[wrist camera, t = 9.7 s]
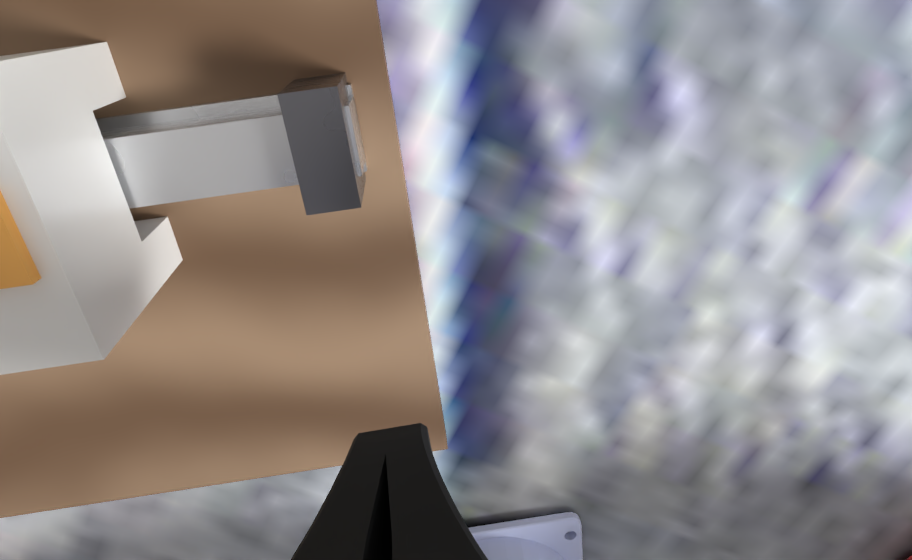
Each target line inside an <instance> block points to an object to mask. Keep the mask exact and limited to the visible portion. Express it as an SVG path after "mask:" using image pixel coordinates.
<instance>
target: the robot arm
mask: <svg viewBox="0 0 912 560" xmlns="http://www.w3.org/2000/svg"><path fill="white" fill-rule="evenodd" d="M569 531H571V532H569ZM567 532H569V533H567ZM291 560H583V550H582V524H581V521H580V518H579V516H578V515H577V514H576V513H573V512H564V513H558V514H552V515H545V516H539V517H533V518H526V519H520V520H514V521H507V522H501V523H495V524H489V525H482V526H476V527H470V528H468V527H467V525H466V524H465V522H464V520H463V519H462V517H461V515H460V513H459V511H458V509H457V508H456V506H455V504H454V502H453V500H452V498H451V496H450V494H449V492H448V490H447V488H446V486H445V484H444V482H443V479H442V477H441V475H440V473H439V470H438V468H437V465H436V462H435V460H434V457H433V453H432V448H431V443H430V438H429V433H428V428H427V426H425V425H423V424H422V423H417V424H411V425H405V426H399V427H393V428H387V429H381V430H375V431H369V432H363V433H358V434H357V436H356V437H355V438H354V440H353V442H352V445H351V447H350V449H349V452H348V454H347V456H346V459H345V461H344V463H343V465H342V467H341V469H340V472H339V474H338V476H337V478H336V480H335V482H334V484H333V486H332V488H331V490H330V492H329V494H328V496H327V497H326V499H325V501H324V503H323V505H322V507H321V509H320V511H319V513H318V514H317V516H316V518H315V520H314V522H313V524H312V525H311V527H310V529H309V530H308V532H307V534H306V535H305V537H304V539H303V540H302V542H301V544H300V545H299V547H298V549H297V550H296V552H295V554H294V555H293V557H292V559H291Z"/></svg>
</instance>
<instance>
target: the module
mask: <svg viewBox="0 0 912 560" xmlns="http://www.w3.org/2000/svg"><path fill="white" fill-rule="evenodd" d="M124 98H126V95H125V92H124V90H123V87H122V84H121V81H120V78H119V75H118V72H117V69H116V67H115V64H114V61H113V58H112V55H111V52H110V49H109V46H108V44H107V42H102V43H94V44H87V45H79V46H72V47H64V48H56V49H49V50H41V51H34V52H26V53H19V54H11V55H4V56H0V375H3V374H10V373H17V372H23V371H30V370H37V369H44V368H51V367H57V366H64V365H71V364H78V363H84V362H91V361H98V360H104V359H105V358H106V356H107V355H108V354H109V353H110V351H111V350H112V349H113V348H114V346H115V345H116V344H117V342H118V341H119V340H120V339H121V337H122V336H123V335H124V334H125V332H126V331H127V330H128V329H129V327H130V326H131V325H132V323H133V322H134V321H135V320H136V318H137V317H138V316H139V315H140V313H141V312H142V311H143V310H144V308H145V307H146V306H147V305H148V303H149V302H150V301H151V299H152V298H153V297H154V296H155V294H156V293H157V292H158V291H159V289H160V288H161V287H162V286H163V284H164V283H165V282H166V281H167V279H168V278H169V277H170V275H171V274H172V273H173V272H174V270H175V269H176V268H177V267H178V265H179V264H180V263H181V262H182V260H183V259H182V256H181V253H180V250H179V248H178V245H177V242H176V239H175V236H174V233H173V230H172V227H171V225H170V222H169V219H168V217H161V218H153V219H146V220H139V221H134V220H133V217H132V214H131V212H130V209H129V206H128V204H127V201H126V199H125V196H124V193H123V191H122V188H121V185H120V183H119V180H118V177H117V175H116V172H115V169H114V167H113V164H112V161H111V159H110V156H109V153H108V151H107V148H106V145H105V143H104V140H103V137H102V135H101V132H100V129H99V127H98V124H97V121H96V119H95V116H94V113H93V110H96V109H98V108H101V107H104V106H106V105H109V104H111V103H114V102H116V101H119V100H121V99H124Z"/></svg>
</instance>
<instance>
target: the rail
mask: <svg viewBox="0 0 912 560" xmlns="http://www.w3.org/2000/svg"><path fill="white" fill-rule="evenodd" d="M95 119H96V121H97V124H98V127H99V129H100V132H101V135H102V137H103V140H104V143H105V145H106V148H107V151H108V153H109V156H110V159H111V161H112V164H113V167H114V169H115V172H116V175H117V177H118V180H119V183H120V185H121V188H122V191H123V193H124V196H125V199H126V201H127V204H128V206H129V209H130V208H137V207H144V206H151V205H158V204H165V203H173V202H180V201H187V200H194V199H201V198H208V197H215V196H222V195H229V194H236V193H243V192H250V191H258V190H265V189H272V188H279V187H286V186H293V185H299V187H300V191H301V195H302V199H303V203H304V207H305V212H306V216H307V215H314V214H321V213H328V212H335V211H342V210H349V209H356V208H361V206H362V200H363V194H364V188H365V182H366V177H365V172H366V171H367V164H366V158H365V153H364V148H363V142H362V137H361V132H360V126H359V121H358V116H357V110H356V105H355V100H354V94H353V89H352V84H351V83H350V84H348V82H347V77H346V72H345V73H337V74H330V75H323V76H315V77H308V78H301V79H294V80H293V81H292V82H291V83H289V84H288V85H287V86H286V87H285V88H284V89H283V90H282V91H280V92H279V93H277V94H270V95H262V96H255V97H248V98H240V99H233V100H226V101H219V102H211V103H204V104H197V105H189V106H182V107H175V108H167V109H160V110H153V111H145V112H138V113H131V114H124V115H116V116H109V117H102V118H95Z"/></svg>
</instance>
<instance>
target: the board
mask: <svg viewBox="0 0 912 560" xmlns="http://www.w3.org/2000/svg"><path fill="white" fill-rule="evenodd" d="M102 42H107V44H108V46H109V49H110V52H111V55H112V58H113V61H114V64H115V67H116V69H117V72H118V75H119V78H120V81H121V84H122V87H123V90H124V92H125V95H126V98H124V99H121V100H119V101H116V102H114V103H111V104H109V105H106V106H104V107H101V108H98V109H96V110H93V113H94V116H95V118H102V117H109V116H116V115H124V114H131V113H138V112H145V111H153V110H160V109H167V108H175V107H182V106H189V105H197V104H204V103H211V102H219V101H226V100H233V99H240V98H248V97H255V96H262V95H270V94H277V93H279V92H280V91H282V90H283V89H284V88H285V87H286V86H287V85H288V84H289V83H291V82H292V81H293V80H294V79H301V78H308V77H315V76H323V75H330V74H337V73H345V72H346V77H347V82H348V84H350V83H351V84H352V89H353V94H354V100H355V105H356V110H357V116H358V121H359V126H360V132H361V137H362V142H363V148H364V153H365V158H366V164H367V171H366V172H365V177H366V182H365V188H364V194H363V200H362V206H361V208H356V209H349V210H342V211H335V212H328V213H321V214H314V215H307V216H306V212H305V207H304V203H303V199H302V195H301V191H300V187H299V185H293V186H286V187H279V188H272V189H265V190H258V191H250V192H243V193H236V194H229V195H222V196H215V197H208V198H201V199H194V200H187V201H180V202H173V203H165V204H158V205H151V206H144V207H137V208H130V212H131V214H132V217H133V220H134V221H139V220H146V219H153V218H161V217H168V219H169V222H170V225H171V227H172V230H173V233H174V236H175V239H176V242H177V245H178V248H179V250H180V253H181V256H182V259H183V260H182V262H181V263H180V264H179V265H178V267H177V268H176V269H175V270H174V272H173V273H172V274H171V275H170V277H169V278H168V279H167V281H166V282H165V283H164V284H163V286H162V287H161V288H160V289H159V291H158V292H157V293H156V294H155V296H154V297H153V298H152V299H151V301H150V302H149V303H148V305H147V306H146V307H145V308H144V310H143V311H142V312H141V313H140V315H139V316H138V317H137V318H136V320H135V321H134V322H133V323H132V325H131V326H130V327H129V329H128V330H127V331H126V332H125V334H124V335H123V336H122V337H121V339H120V340H119V341H118V342H117V344H116V345H115V346H114V348H113V349H112V350H111V351H110V353H109V354H108V355H107V356H106V358H105V359H104V360H98V361H91V362H84V363H78V364H71V365H64V366H57V367H51V368H44V369H37V370H30V371H23V372H17V373H10V374H3V375H0V518H3V517H10V516H16V515H23V514H29V513H36V512H42V511H49V510H55V509H62V508H68V507H75V506H81V505H88V504H94V503H101V502H107V501H114V500H120V499H127V498H133V497H139V496H146V495H152V494H159V493H165V492H172V491H178V490H185V489H191V488H198V487H204V486H211V485H217V484H224V483H230V482H237V481H243V480H250V479H256V478H263V477H269V476H275V475H282V474H288V473H295V472H301V471H308V470H314V469H321V468H327V467H334V466H340V465H343V463H344V461H345V459H346V456H347V454H348V452H349V449H350V447H351V445H352V442H353V440H354V438H355V437H356V436H357V434H358V433H363V432H369V431H375V430H381V429H387V428H393V427H399V426H405V425H411V424H417V423H422V424H423V425H425V426H427V428H428V433H429V438H430V443H431V448H432V451H437V450H444V449H448V447H447V439H446V430H445V424H444V418H443V411H442V405H441V399H440V393H439V387H438V380H437V374H436V368H435V362H434V355H433V349H432V343H431V337H430V331H429V324H428V318H427V312H426V306H425V300H424V293H423V287H422V281H421V275H420V269H419V262H418V256H417V250H416V244H415V237H414V231H413V225H412V219H411V213H410V206H409V200H408V194H407V188H406V182H405V175H404V169H403V163H402V157H401V150H400V144H399V138H398V132H397V126H396V119H395V113H394V107H393V101H392V95H391V88H390V82H389V76H388V70H387V63H386V57H385V51H384V45H383V39H382V32H381V26H380V20H379V14H378V8H377V1H376V0H0V56H4V55H11V54H19V53H26V52H34V51H41V50H49V49H56V48H64V47H72V46H79V45H87V44H94V43H102Z"/></svg>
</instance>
